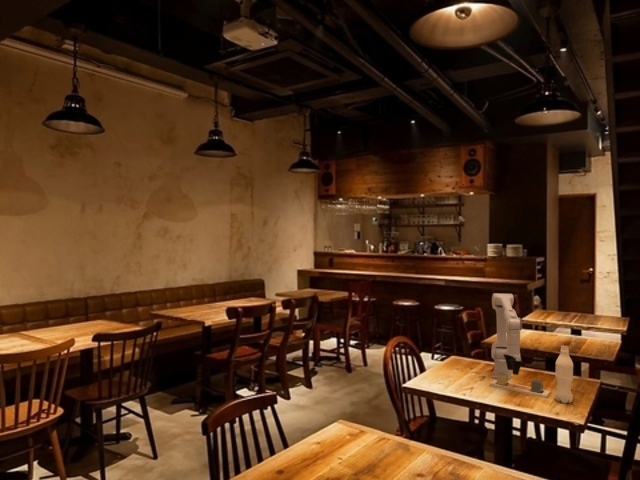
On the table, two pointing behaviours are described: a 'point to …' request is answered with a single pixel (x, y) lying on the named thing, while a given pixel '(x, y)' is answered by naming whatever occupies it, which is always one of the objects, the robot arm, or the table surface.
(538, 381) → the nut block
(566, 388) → the water bottle
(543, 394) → the beige rectangular frame
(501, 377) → the brass block
